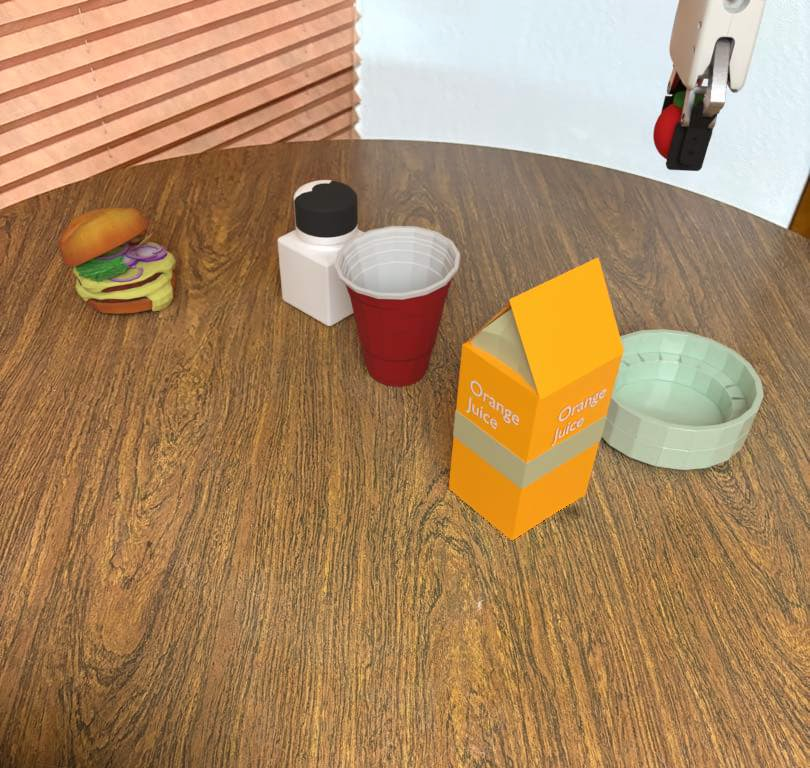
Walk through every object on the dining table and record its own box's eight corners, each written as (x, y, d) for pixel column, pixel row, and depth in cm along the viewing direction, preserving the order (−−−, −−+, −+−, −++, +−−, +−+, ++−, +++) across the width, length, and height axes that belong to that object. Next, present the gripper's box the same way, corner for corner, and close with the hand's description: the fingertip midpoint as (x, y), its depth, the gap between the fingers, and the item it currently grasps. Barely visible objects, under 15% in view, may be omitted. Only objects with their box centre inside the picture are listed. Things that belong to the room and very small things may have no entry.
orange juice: (446, 489, 71) (466, 274, 57) (521, 445, 75) (558, 233, 60) (512, 544, 68) (553, 328, 53) (588, 495, 71) (645, 281, 57)
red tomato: (668, 143, 83) (684, 81, 79) (714, 161, 81) (733, 99, 77) (636, 158, 81) (650, 95, 77) (682, 177, 78) (699, 114, 74)
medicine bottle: (377, 300, 90) (378, 189, 81) (329, 328, 86) (324, 215, 77) (329, 275, 93) (325, 165, 84) (281, 301, 89) (271, 189, 80)
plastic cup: (320, 352, 84) (313, 238, 75) (418, 325, 87) (423, 213, 78) (368, 418, 77) (367, 301, 68) (471, 386, 81) (484, 271, 72)
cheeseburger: (136, 335, 84) (93, 237, 78) (67, 323, 90) (21, 231, 83) (203, 287, 90) (168, 192, 84) (135, 279, 96) (97, 189, 89)
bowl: (645, 354, 85) (658, 311, 81) (773, 424, 78) (793, 380, 75) (554, 417, 78) (563, 372, 74) (686, 499, 72) (704, 454, 68)
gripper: (818, -46, 61) (737, 200, 75) (760, -103, 73) (699, 119, 86) (713, -51, 61) (651, 196, 75) (672, -107, 73) (624, 115, 86)
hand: (677, 152), depth 80 cm, fingers closed on red tomato, 5 cm apart
